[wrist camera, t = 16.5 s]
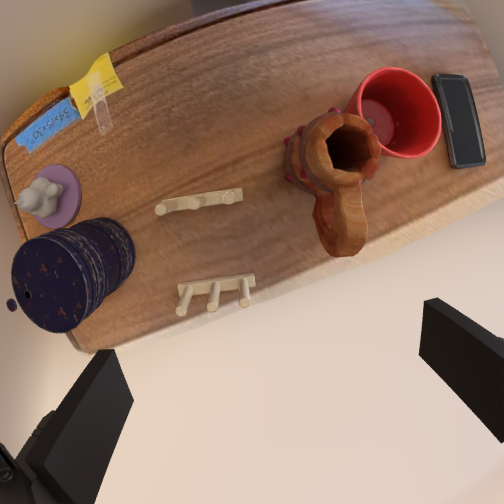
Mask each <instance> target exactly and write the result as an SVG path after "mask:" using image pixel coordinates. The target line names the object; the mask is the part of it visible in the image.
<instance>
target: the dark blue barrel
mask: <svg viewBox="0 0 504 504" xmlns="http://www.w3.org/2000/svg"><path fill="white" fill-rule="evenodd" d="M134 264H135V247H134V243H133V240H132V238H131V236H130V234H129V233H128V231H127V230H126V229H125V228H124V227H123V226H122V225H121V224H120V223H118V222H116V221H114V220H112V219H109V218H95V219H90V220H85V221H82V222H79V223H78V224H76V225H73V226H71V227H70V228H61V229H56V230H54V231H50V232H47V233H44V234H42V235H40V236H38V237H35V238H32V239H30V240H28V241H26V242H25V243H23V244H22V245H21V246H20V248H19V249H18V251H17V252H16V254H15V257H14V259H13V263H12V270H11V279H12V286H13V290H14V294H15V296H16V299H17V301H18V303H19V305H20V307H21V309H22V310H23V312H24V313H25V314H26V315H27V317H28V318H29V319H30V320H31V321H32V322H33V323H35V324H36V325H37V326H38V327H40V328H42V329H44V330H46V331H49V332H52V333H67V332H69V331H72V330H73V329H75V328H76V327H77V326H78V325H79V324H80V323H81V322H82V321H83V320H85V319H86V318H87V317H89V316H90V315H91V314H92V313H93V312H94V311H95V310H96V309H97V308H98V307H99V306H100V304H101V303H102V301H103V300H104V298H105V297H107V296H108V295H110V294H111V293H112V292H114V291H115V290H116V289H117V288H118V287H119V286H120V285H121V284H122V283H123V282H124V281H125V280H126V279H127V278H128V276H129V275H130V274H131V272H132V270H133V267H134ZM7 307H8V309H9V310H10V311H11V312H14V311H15V310H16V309H17V304H16V302H15V301H14V300H13V299H9V300H7Z"/></svg>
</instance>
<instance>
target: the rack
mask: <svg viewBox="0 0 504 504" xmlns="http://www.w3.org/2000/svg"><path fill="white" fill-rule="evenodd" d="M236 201H243V194H242V188H241V187H240V188H233V189H226V190H220V191H213V192H207V193H201V194H195V195H189V196H183V197H177V198H171V199H166V200H161V204H158V205H156V207H155V212H156V214H157V215H160V216H161V215H164V214H166V213H168V212H173V211H179V210H185V209H192V210H196V209H198V208H199V207H203V206H210V205H216V204H223V203H226V204H232V203H233V202H236ZM255 286H256V285H255V278H254V273H246V274H239V275H232V276H225V277H218V278H211V279H204V280H197V281H189V282H182V283H178V285H177V288H178V292H179V297H181V298H180V300H179V302H178V305H177V307H176V309H175V312H176V314H177V315H178V316H184V315H185V314H186V311H187V309H188V306H189V303H190V300H191V298H192V295H199V294H207V293H210V294H209V298H208V303H207V310H208V311H209V312H216V311H217V309H218V303H219V296H220V292H221V291H228V290H235V289H239V305H240V306H241V307H242V308H247V307H249V306H250V295H249V287H255Z"/></svg>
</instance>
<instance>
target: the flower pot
mask: <svg viewBox="0 0 504 504" xmlns="http://www.w3.org/2000/svg"><path fill="white" fill-rule="evenodd" d="M344 114H354V115H358V116H359V117H361V118H363V119H365V120H366V121H367V122H368V123H369V124H370V125H371V127H372V132H373V134H375V135H376V136H377V137H378V142H379V144H380V145H381V155H384V156H390V157H396V158H402V159H414V158H418V157H421V156H423V155H425V154H427V153H428V152H429V151H431V150H432V148H433V147H434V146H435V144H436V143H437V141H438V139H439V136H440V132H441V113H440V109H439V105H438V103H437V100H436V98H435V96H434V94H433V93H432V91H431V90H430V88H429V87H428V86H427V85H426V84H425V83H424V82H423V81H422V80H421V79H420V78H419V77H418V76H416V75H415V74H413V73H411V72H409V71H407V70H405V69H401V68H396V67H384V68H380V69H377V70H375V71H373V72H371V73H370V74H369V75H367V76H366V77H365V79H364V80H363V81H362V82H361V84H360V85H359V87H358V88H357V90H356V91H355V93H354V95H353V96H352V98H351V100H350V102H349V104H348V105H347V107H346V109H345V112H344Z"/></svg>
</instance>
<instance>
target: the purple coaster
mask: <svg viewBox="0 0 504 504" xmlns="http://www.w3.org/2000/svg"><path fill="white" fill-rule="evenodd" d="M39 177H45V178H47V179H48V180H49V181H50V182H51V183H56V184H61V185H62V186H63V193H62V194H61V195H60V196H59V197H58V201H57V205H56V206H57V210H56V212H55V213H54V214H52V215H50V216H49V217H46V218H40V217H38V216H37V215H34V216H35V218H36V219H37V221H38V222H39V223H40V224H42V225H43V226H45V227H47V228H51V229H57V228H61V227H64V226H66V225H68V224H69V223H70V222H71V221H72V220H73V219H74V218H75V216H76V215H77V213H78V210H79V208H80V204H81V187H80V183H79V180H78V178H77V176H76V175H75V173H74V172H73V171H72V170H71V169H70V168H68V167H66V166H64V165H58V164H54V165H49V166H46V167H45V168H43V169H42V170H41V171H40V172H39V173H38V174H37V175H36V177H35V178H34V180H36V179H37V178H39ZM34 180H33V181H34Z"/></svg>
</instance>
